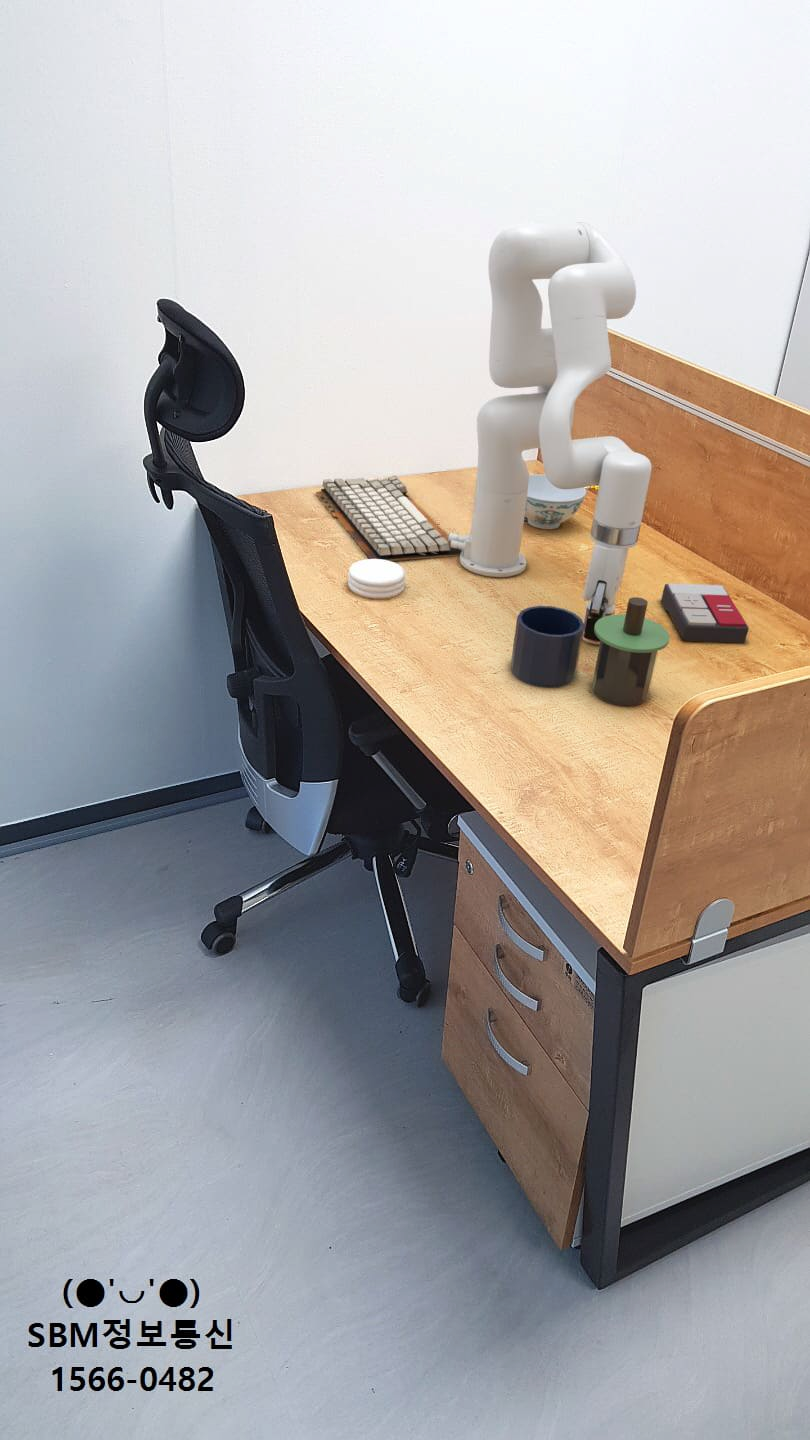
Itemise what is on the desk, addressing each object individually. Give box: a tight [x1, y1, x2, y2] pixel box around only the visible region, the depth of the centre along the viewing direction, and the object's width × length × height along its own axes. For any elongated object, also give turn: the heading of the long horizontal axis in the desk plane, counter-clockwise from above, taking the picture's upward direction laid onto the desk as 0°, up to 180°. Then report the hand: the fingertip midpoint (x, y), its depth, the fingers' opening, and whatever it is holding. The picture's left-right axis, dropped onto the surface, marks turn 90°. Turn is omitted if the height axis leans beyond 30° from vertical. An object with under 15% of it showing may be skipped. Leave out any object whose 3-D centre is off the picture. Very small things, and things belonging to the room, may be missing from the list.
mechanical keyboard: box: [315, 475, 462, 563], centre depth 221 cm, size 38×19×3 cm, turn 22°
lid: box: [594, 596, 671, 653], centre depth 164 cm, size 11×11×6 cm
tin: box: [510, 605, 584, 689], centre depth 172 cm, size 10×10×9 cm
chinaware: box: [524, 473, 587, 530], centre depth 225 cm, size 15×15×8 cm
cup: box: [591, 640, 659, 708], centre depth 168 cm, size 9×9×10 cm
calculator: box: [660, 582, 750, 644], centre depth 192 cm, size 11×4×15 cm
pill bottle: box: [582, 595, 617, 646], centre depth 183 cm, size 5×5×8 cm
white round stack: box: [347, 558, 406, 600], centre depth 195 cm, size 10×10×4 cm
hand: (596, 631), depth 184 cm, fingers closed on pill bottle, 4 cm apart
